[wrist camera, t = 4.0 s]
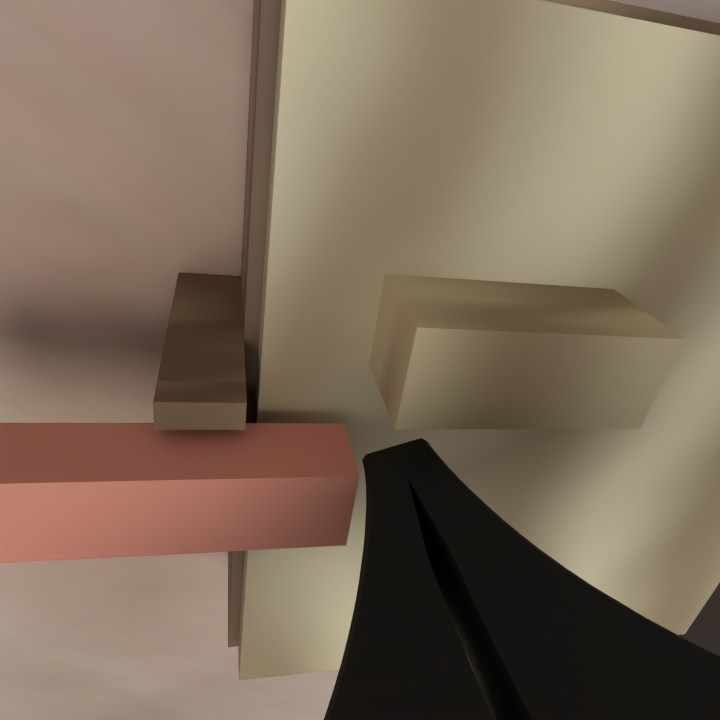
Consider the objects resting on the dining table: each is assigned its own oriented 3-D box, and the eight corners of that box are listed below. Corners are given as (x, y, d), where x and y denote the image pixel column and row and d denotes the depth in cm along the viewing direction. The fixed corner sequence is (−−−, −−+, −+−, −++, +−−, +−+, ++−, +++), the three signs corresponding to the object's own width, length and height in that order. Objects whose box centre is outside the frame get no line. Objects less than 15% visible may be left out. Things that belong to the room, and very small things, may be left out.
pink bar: (345, 410, 12) (362, 465, 10) (331, 497, 13) (344, 557, 11) (-182, 406, 10) (-255, 475, 8) (-141, 511, 11) (-199, 588, 9)
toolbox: (851, 67, 16) (1141, 92, 11) (613, 536, 24) (711, 669, 19) (174, -65, 11) (132, -126, 6) (181, 559, 20) (166, 736, 15)
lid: (989, 94, 13) (1196, 116, 10) (666, 609, 21) (730, 696, 18) (284, -44, 9) (308, -69, 6) (238, 647, 17) (240, 763, 15)
